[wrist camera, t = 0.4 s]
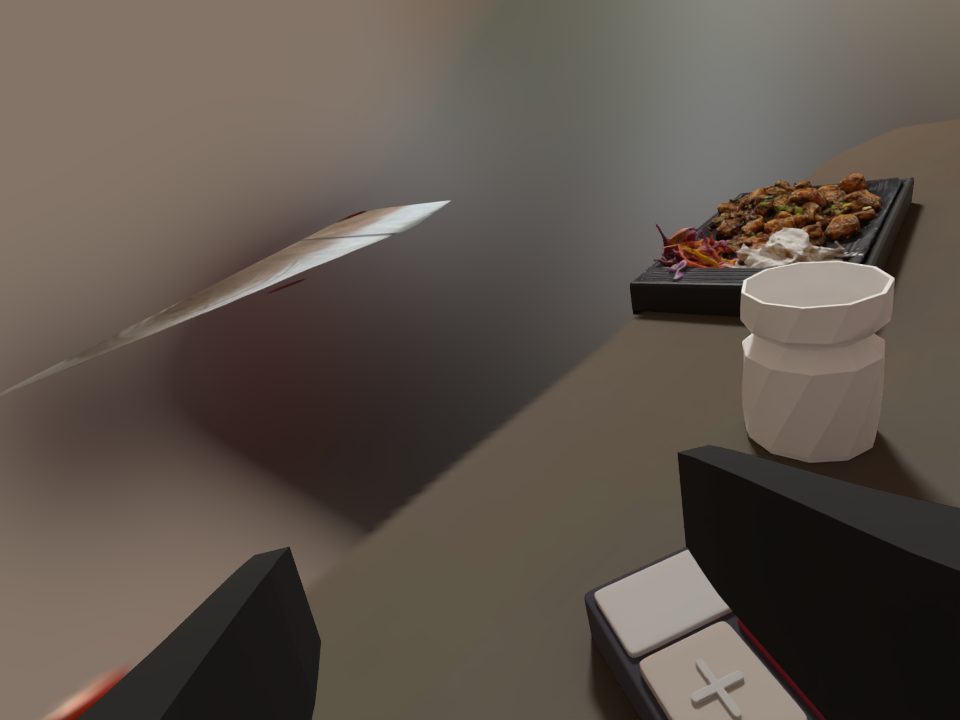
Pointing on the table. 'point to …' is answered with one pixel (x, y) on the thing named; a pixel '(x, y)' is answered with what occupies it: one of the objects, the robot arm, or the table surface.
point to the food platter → (772, 241)
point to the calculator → (687, 649)
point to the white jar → (815, 358)
